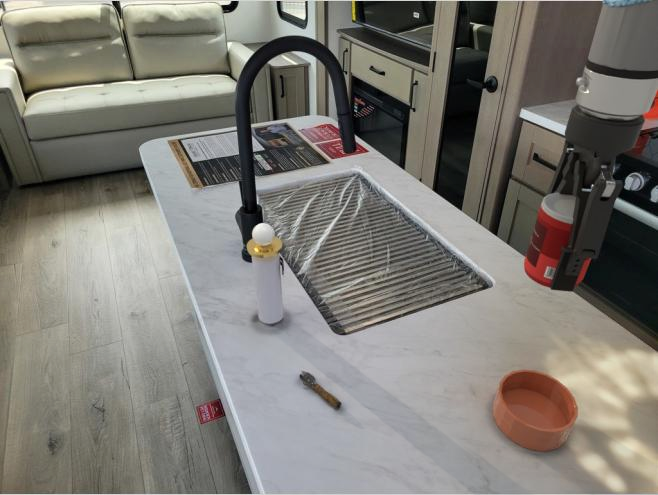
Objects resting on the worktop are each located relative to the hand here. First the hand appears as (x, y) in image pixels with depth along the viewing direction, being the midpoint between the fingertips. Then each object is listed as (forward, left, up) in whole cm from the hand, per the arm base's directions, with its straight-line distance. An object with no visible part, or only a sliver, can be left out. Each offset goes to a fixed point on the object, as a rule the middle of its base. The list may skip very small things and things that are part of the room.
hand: (553, 269), depth 67 cm
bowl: (+1, +10, -19) cm, 22 cm away
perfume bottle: (+43, -6, -20) cm, 48 cm away
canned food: (0, 0, -1) cm, 1 cm away
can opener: (+32, +9, -19) cm, 39 cm away
